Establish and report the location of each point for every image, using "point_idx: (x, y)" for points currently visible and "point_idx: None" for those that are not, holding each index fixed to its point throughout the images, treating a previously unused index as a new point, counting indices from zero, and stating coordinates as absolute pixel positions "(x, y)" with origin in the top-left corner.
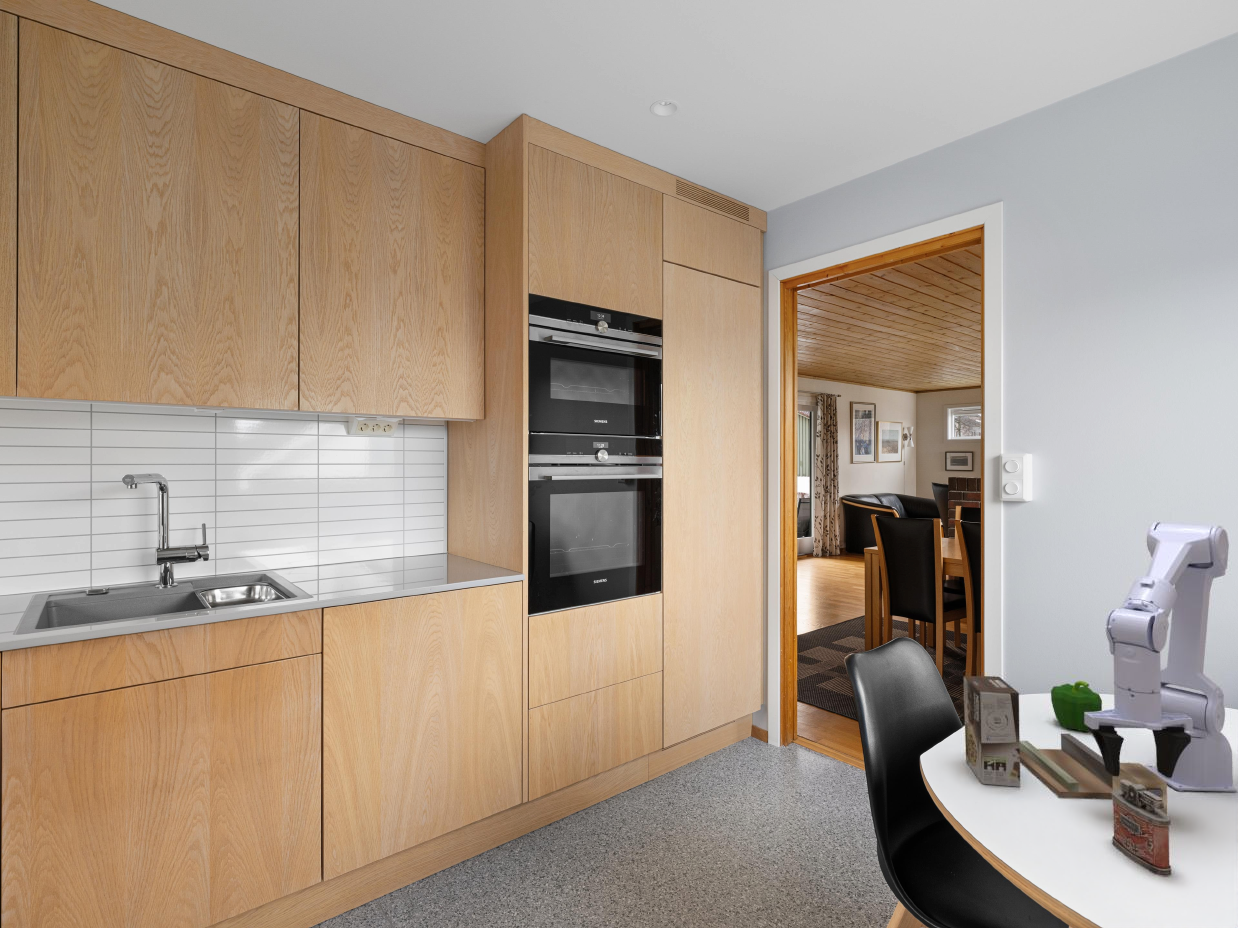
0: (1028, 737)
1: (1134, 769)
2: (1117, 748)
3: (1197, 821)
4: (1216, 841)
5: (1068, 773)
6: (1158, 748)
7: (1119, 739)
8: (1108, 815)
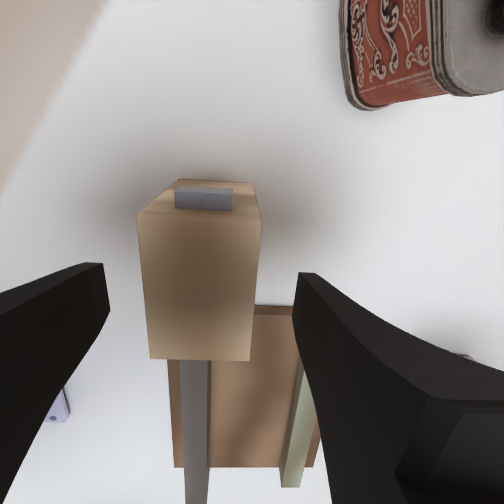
0: (230, 501)
1: (204, 313)
2: (383, 343)
3: (79, 206)
4: (87, 102)
5: (266, 387)
6: (45, 393)
7: (463, 390)
8: (291, 235)
